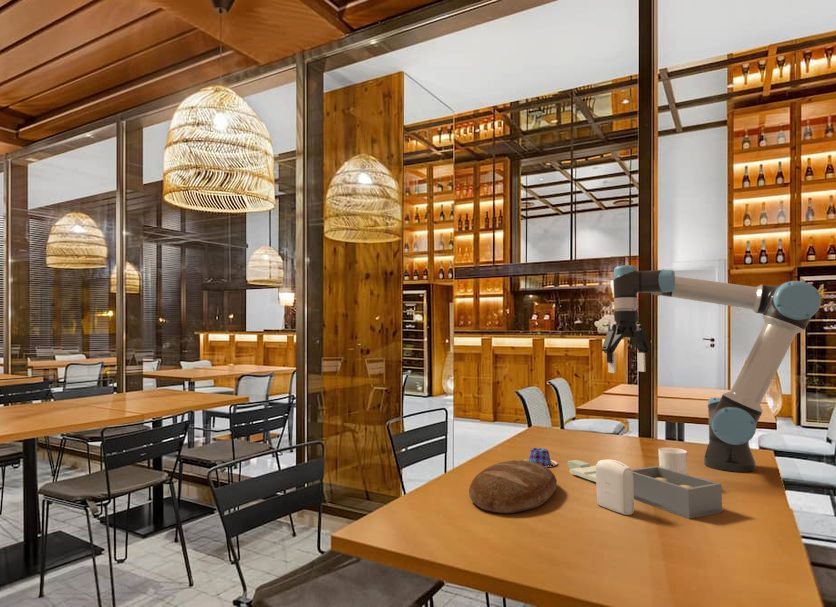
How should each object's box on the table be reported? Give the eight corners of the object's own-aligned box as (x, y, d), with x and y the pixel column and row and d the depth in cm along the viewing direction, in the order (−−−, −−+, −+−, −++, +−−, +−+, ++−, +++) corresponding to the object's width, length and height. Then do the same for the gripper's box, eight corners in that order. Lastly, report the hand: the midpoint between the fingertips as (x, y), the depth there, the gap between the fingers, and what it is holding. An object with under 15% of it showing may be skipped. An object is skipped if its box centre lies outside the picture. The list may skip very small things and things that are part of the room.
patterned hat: (559, 462, 189) (559, 447, 189) (555, 470, 178) (554, 454, 178) (525, 459, 193) (525, 444, 194) (518, 467, 182) (518, 451, 182)
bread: (452, 508, 139) (452, 475, 140) (498, 475, 172) (497, 448, 173) (536, 522, 129) (535, 486, 130) (567, 483, 162) (567, 455, 163)
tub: (657, 490, 154) (656, 466, 154) (722, 512, 136) (721, 483, 136) (626, 496, 149) (625, 470, 149) (689, 518, 131) (688, 489, 131)
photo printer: (594, 504, 141) (593, 457, 142) (606, 502, 143) (605, 455, 144) (624, 516, 132) (623, 465, 133) (637, 514, 134) (635, 464, 135)
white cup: (691, 488, 156) (690, 453, 156) (662, 487, 157) (661, 452, 158) (683, 481, 164) (682, 448, 164) (656, 479, 165) (655, 447, 166)
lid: (587, 467, 182) (587, 458, 182) (650, 488, 157) (650, 477, 158) (557, 471, 176) (557, 462, 177) (618, 493, 152) (618, 482, 152)
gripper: (643, 311, 194) (644, 370, 193) (590, 310, 184) (591, 372, 183) (660, 310, 187) (662, 371, 186) (606, 309, 177) (607, 374, 176)
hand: (627, 372), depth 184 cm, fingers open, 13 cm apart
